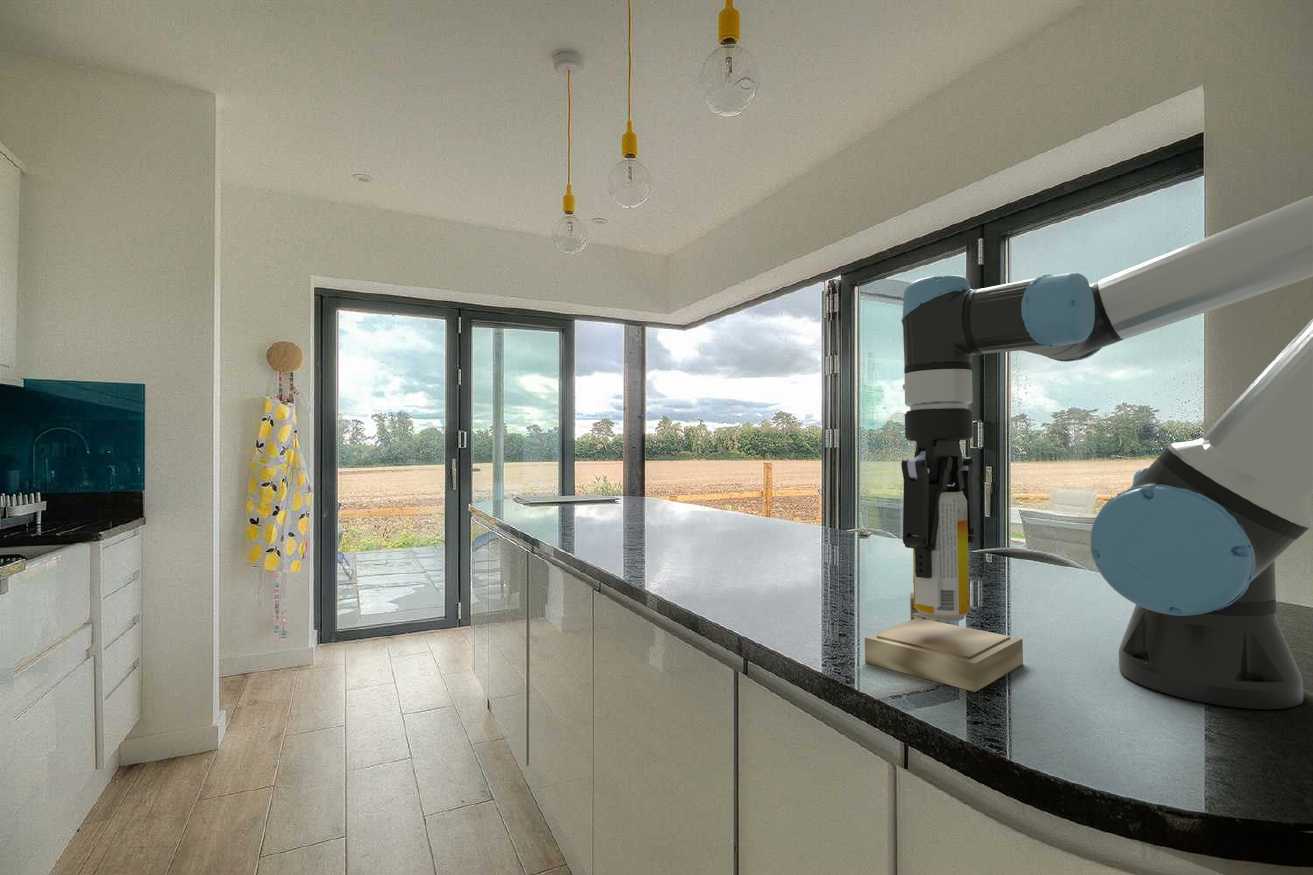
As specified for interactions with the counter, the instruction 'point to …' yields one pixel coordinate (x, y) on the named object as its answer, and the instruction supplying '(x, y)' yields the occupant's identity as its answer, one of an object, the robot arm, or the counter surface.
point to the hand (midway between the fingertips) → (941, 599)
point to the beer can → (950, 560)
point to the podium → (945, 653)
